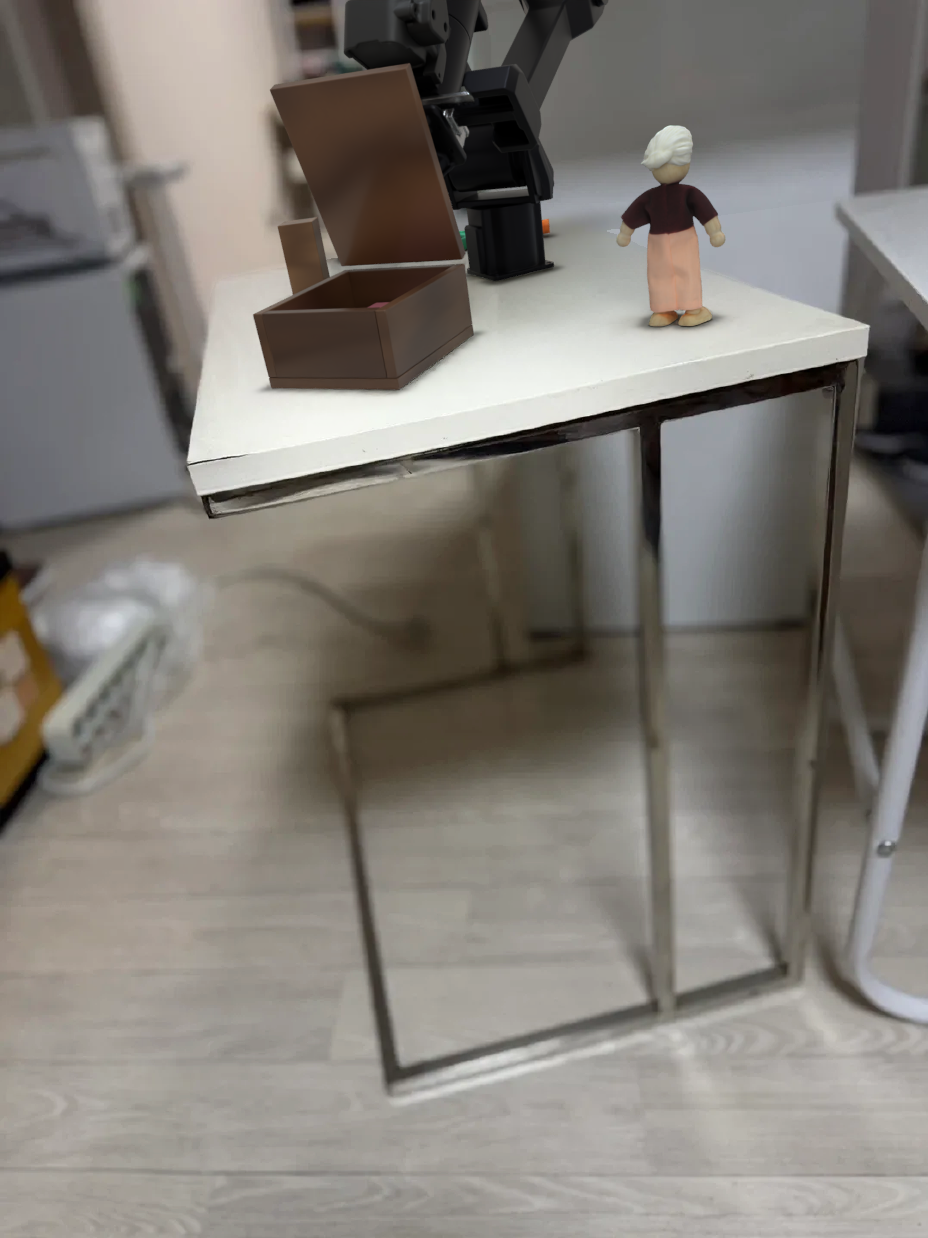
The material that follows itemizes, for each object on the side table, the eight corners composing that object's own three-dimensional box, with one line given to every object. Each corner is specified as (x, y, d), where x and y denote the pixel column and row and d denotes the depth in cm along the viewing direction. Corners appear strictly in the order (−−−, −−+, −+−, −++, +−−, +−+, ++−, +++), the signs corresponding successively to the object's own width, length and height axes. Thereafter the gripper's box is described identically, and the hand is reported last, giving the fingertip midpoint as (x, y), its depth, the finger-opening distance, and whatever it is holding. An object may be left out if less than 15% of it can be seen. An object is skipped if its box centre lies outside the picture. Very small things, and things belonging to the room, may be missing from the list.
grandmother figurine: (728, 311, 67) (731, 115, 61) (723, 326, 64) (725, 122, 58) (624, 316, 70) (615, 129, 63) (614, 331, 67) (604, 136, 60)
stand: (332, 291, 93) (317, 216, 89) (327, 297, 90) (311, 221, 87) (300, 295, 93) (284, 221, 89) (294, 301, 91) (277, 226, 87)
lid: (405, 68, 58) (410, 62, 58) (269, 90, 62) (274, 84, 63) (462, 260, 68) (466, 253, 68) (341, 266, 72) (345, 260, 73)
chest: (399, 390, 62) (385, 310, 59) (270, 388, 66) (252, 314, 63) (474, 334, 71) (465, 263, 68) (357, 336, 76) (344, 269, 73)
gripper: (276, -29, 68) (225, 159, 65) (510, -81, 60) (462, 130, 57) (351, 84, 78) (309, 251, 75) (559, 53, 70) (521, 237, 67)
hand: (391, 220), depth 68 cm, fingers closed, pressing on lid
